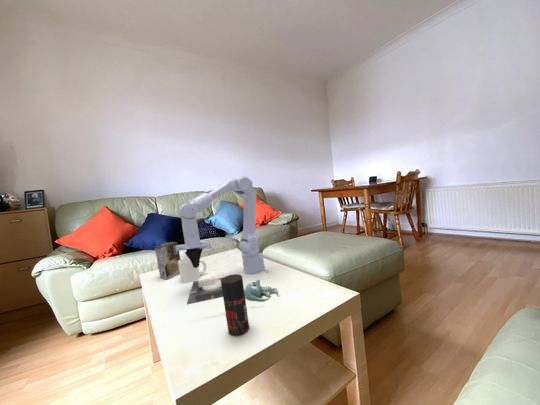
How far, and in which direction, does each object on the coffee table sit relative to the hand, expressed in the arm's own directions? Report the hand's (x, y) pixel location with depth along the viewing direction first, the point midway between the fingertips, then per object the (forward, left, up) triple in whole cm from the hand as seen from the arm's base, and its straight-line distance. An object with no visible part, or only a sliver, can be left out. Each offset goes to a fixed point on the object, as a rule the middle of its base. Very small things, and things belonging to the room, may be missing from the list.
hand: (196, 266), depth 95 cm
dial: (-4, +2, -9) cm, 10 cm away
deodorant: (-13, +31, -11) cm, 36 cm away
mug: (+4, -15, -11) cm, 18 cm away
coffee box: (+17, -28, -11) cm, 34 cm away
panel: (-5, +2, -10) cm, 12 cm away
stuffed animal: (-23, +16, -11) cm, 30 cm away
